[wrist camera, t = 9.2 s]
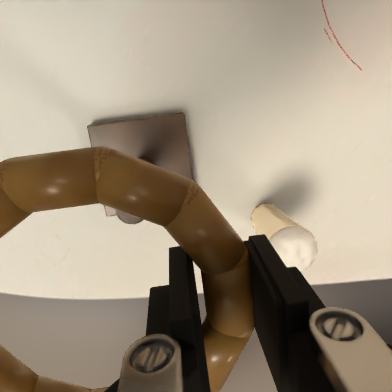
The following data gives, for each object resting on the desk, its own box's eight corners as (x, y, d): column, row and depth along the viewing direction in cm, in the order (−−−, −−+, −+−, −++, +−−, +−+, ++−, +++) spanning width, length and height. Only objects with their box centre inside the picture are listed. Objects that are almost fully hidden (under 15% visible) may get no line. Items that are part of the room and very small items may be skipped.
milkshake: (253, 248, 38) (282, 301, 28) (239, 205, 36) (265, 247, 26) (291, 234, 37) (334, 283, 28) (279, 191, 36) (320, 228, 26)
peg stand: (108, 211, 35) (75, 282, 22) (90, 124, 32) (39, 147, 19) (194, 199, 35) (210, 262, 22) (183, 112, 32) (194, 127, 20)
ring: (-5, 426, 13) (-29, 471, 12) (-112, 170, 10) (-164, 185, 8) (256, 386, 13) (267, 425, 12) (234, 125, 10) (244, 131, 9)
